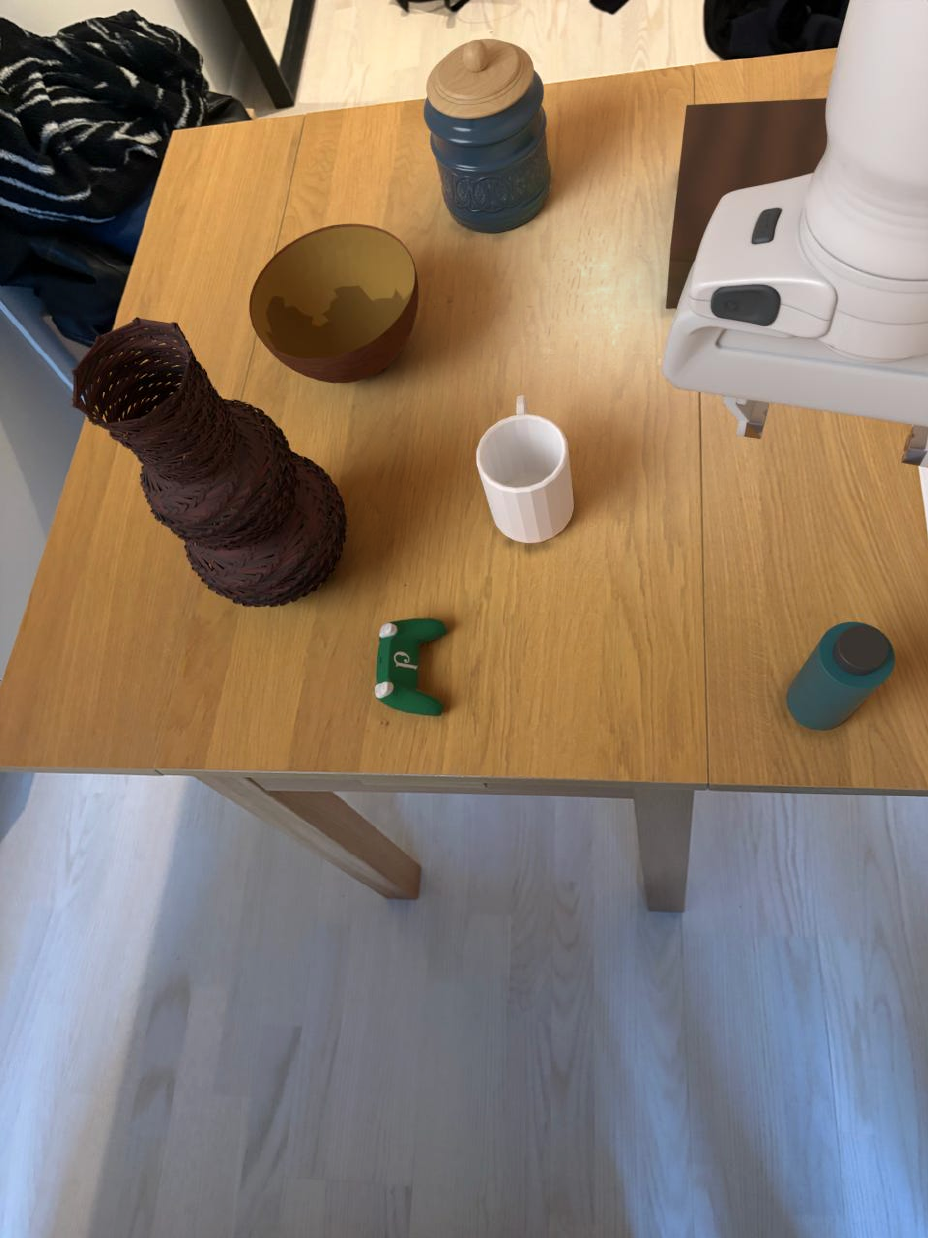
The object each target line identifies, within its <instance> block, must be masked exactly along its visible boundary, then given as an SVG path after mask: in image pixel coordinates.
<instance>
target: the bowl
mask: <svg viewBox="0 0 928 1238" xmlns="http://www.w3.org/2000/svg"><path fill="white" fill-rule="evenodd" d="M248 304H249V305H248V313H249V317H250V322H251V325H252V329H254V332H255V333H256V335H257V337H258V339H259V340H260V342H261V343H262V344H263V346H264V347H265V348H266V349H267V351H269V352H270V353H271V355H272V356H274V358H276V359H277V360H278V361H280V362H281V364H283V365H284V366H286V367H288V368H289V369H291V370H292V371H294V372H296V373H298V374H300V375H302V376H304V377H307V378H310V379H312V380H316V381H317V382H323V383H330V384H350V383H355V382H358V381H363V380H365V379H368V378H370V377H373V376H375V375H376V374H378V373H380V372H381V371H382V370H384V369H385V368H387V367H388V366H389V365H390V364H391V363H392V362H393V361H394V360H395V359H396V358H397V357H398V356H399V355H400V353H401V352H402V350H403V349H404V347H405V346H406V344H407V342H408V340H409V338H410V335H411V333H412V331H413V328H414V326H415V325H414V324H415V322H416V318H417V313H418V307H419V279H418V273H417V269H416V264H415V261H414V259H413V257H412V254H411V252H410V251H409V249H408V248H407V246H406V245H405V244H404V243H403V242H402V240H400V238H398V237H397V236H396V235H394V234H393V233H391V232H389V231H387V230H385V229H384V228H381V227H378V226H374V225H370V224H364V223H341V224H333V225H328V226H324V227H321V228H318V229H315V230H313V231H310V232H308V233H305V234H304V235H301V236H299V237H298V238H296V239H294V240H292V241H291V242H289V243H288V244H286V245H285V246H283V248H281V249H280V250H279V251H278V252H276V254H274V255H273V256H272V257H271V259H269V261H268V262H267V263H266V264H265V265H264V267H263V268H262V270H261V271H260V272H259V274H258V276H257V278H256V280H255V282H254V283H253V286H252V289H251V293H250V296H249V303H248Z"/></svg>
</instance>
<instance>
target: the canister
mask: <svg viewBox="0 0 928 1238" xmlns="http://www.w3.org/2000/svg"><path fill="white" fill-rule="evenodd" d="M534 67H535V66H534V62H533V60H532V57H531V56H530V55H529V53H528V52H527V51H526V50H525V49H523V48H522V47H521V46H519V45H516V44H514V43H512V42H508V41H504V40H501V39H496V38H482V39H480V38H479V39H472V40H470V41H467V42H465V43H463V44H461V45H459V46H457V47H455V48H453V50H451V51H449V52H448V53H447V54H446V55H445V56H444V57H443V58H442V59H441V60H439V62H438V63H436V64H435V66H434V67H433V68H432V70H431V71H430V73H429V75H428V78H427V80H426V85H425V87H426V88H425V89H426V90H425V92H426V97H425V101H424V103H423V119H424V122H425V124H426V126H427V128H428V130H429V131H430V137H429V145H430V149H431V152H432V154H433V156H434V158H435V163H436V166H437V170H438V171H437V172H438V175H439V176H438V177H439V179H440V184H441V185H440V187H441V188H440V190H441V195H442V199H443V202H444V205H445V207H446V208H447V210H448V212H449V213H448V214H450V216H451V218H452V219H453V221H455V222H456V223H457V224H458V225H460V226H461V227H463V228H465V229H467V230H469V231H474V232H478V233H491V234H492V233H501V232H506V231H508V230H512V229H516V228H517V227H519V226H520V227H521V226H522V225H524V224H525V223H527V222H528V221H530V220H531V219H533V218H535V216H536V215H537V214H538V213H539V212H540V211H541V210H542V209H543V208H544V206H545V205H546V203H547V201H548V199H549V196H550V191H551V185H552V166H551V161H550V159H549V150H548V149H549V148H548V138H547V137H548V136H547V126H548V119H547V113H546V111H545V108H544V106H543V102H544V97H545V87H544V83H543V80H542V78H541V76H540V75H539V73H538V71H536V70H535V68H534Z"/></svg>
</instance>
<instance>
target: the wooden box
mask: <svg viewBox="0 0 928 1238" xmlns="http://www.w3.org/2000/svg"><path fill="white" fill-rule="evenodd" d="M826 101H827V97H822V98H821V97H820V98H801V99H783V100H782V99H779V100H778V99H777V100H761V101H760V100H759V101H739V102H738V101H737V102H717V103H716V102H715V103H699V104H696V103H695V104H686V105H685V113H684V123H683V133H682V141H681V149H680V158H679V167H678V176H677V185H676V194H675V202H674V210H673V211H674V212H673V219H672V220H673V221H672V229H671V238H670V247H669V258H668V273H667V286H666V299H665V309H668V310H669V309H670V310H672V309H675V310H676V309H677V306H678V303H679V300H680V297H681V294H682V292H683V289H684V286H685V283H686V281H687V278H688V275H689V272H690V270H691V267H692V265H693V263H694V261H695V259H696V256H697V252H698V249H699V246H700V243H701V240H702V238H703V235H704V232H705V230H706V228H707V225H708V223H709V221H710V219H711V217H712V215H713V213H714V211H715V209H716V207H717V205H718V203H719V202H720V200H721V198H722V197H723V196H724V195H726V194H728V193H730V192H732V191H736V190H740V189H744V188H749V187H755V186H760V185H764V184H769V183H774V182H779V181H783V180H787V179H791V178H795V177H799V176H803V175H807V174H810V173H814V171H815V169H816V167H817V165H818V164H819V162H820V160H821V159H822V157H823V155H824V153H825V150H826V146H827V139H828V138H827V128H826V119H825V113H826Z"/></svg>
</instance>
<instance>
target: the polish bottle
mask: <svg viewBox="0 0 928 1238" xmlns="http://www.w3.org/2000/svg"><path fill="white" fill-rule="evenodd" d="M895 664H896V654H895V650H894V647H893V645H892V642H891V640H890V639H889V638H888V637H887V636H886V635H885V633H883V632H882V631H881V630H879V629H878V628H876V627H874V626H873V625H871V624H868V623H865V622H861V621H845V622H840V623H837V624H836V625H834V626H831V627H830V628H829V629H828V630H826V632H824V634H823V635H822V636H821V638H820V639H819V641H818V642H817V644H816V645H815V647H814V649H813V650H812V651H811V653H810V655H809V656H808V657H807V659H806V660H805V662H804V663H803V665H802V667H800V669H799V671H798V672H797V674H796V675H795V677H794V679H793V680H792V681H791V683H790V685H788V688H787V691H786V694H785V695H786V696H785V699H786V700H785V701H786V706H787V709H788V712H789V713H790V715H791V716H792V718H793V719H794V720H795V721H796V722H798V724H800V725H802V726H803V727H805V728H808V729H810V730H815V731H827V730H832V729H835V728H836V727H838V726H840V725H841V724H843V723H844V722H845V721H846V720H847V719H848V718H849V717H850V716H851V715H852V714H853V713H854V712H855V711H856V710H857V709H858V708H859V707H860V706H861V705H862V704H863V703H864V702H866V700H867V699H868V698H870V696H871V695H873V693H874V692H875V691H876V690H878V688H879V687H881V685H882V684H884V682H886V680H888V678H889V677H890V676H891V675H892V673H893V671H894V668H895Z"/></svg>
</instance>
